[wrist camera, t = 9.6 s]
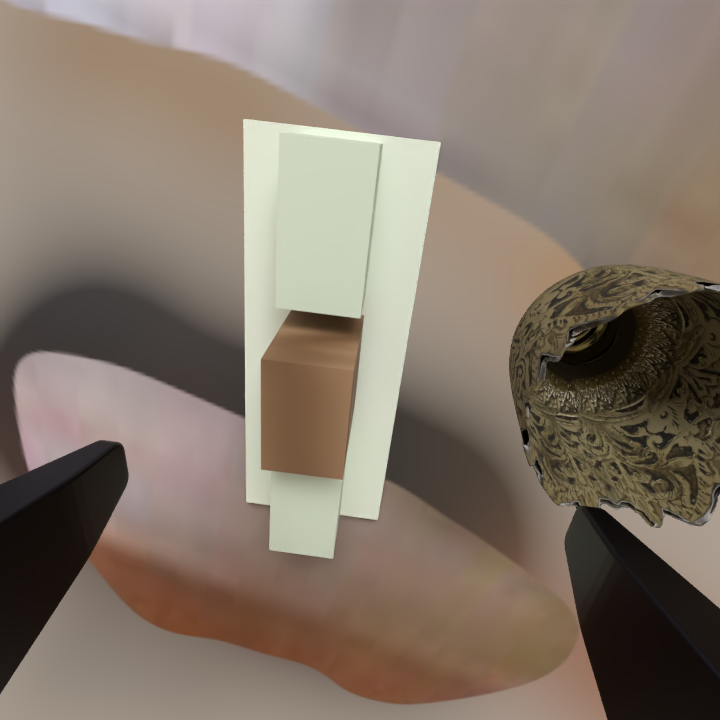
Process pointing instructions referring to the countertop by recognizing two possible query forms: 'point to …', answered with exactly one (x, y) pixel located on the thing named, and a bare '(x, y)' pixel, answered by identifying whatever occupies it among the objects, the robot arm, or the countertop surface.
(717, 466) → the cup
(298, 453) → the brown rectangular block
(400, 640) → the countertop surface
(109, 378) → the countertop surface
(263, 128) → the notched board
